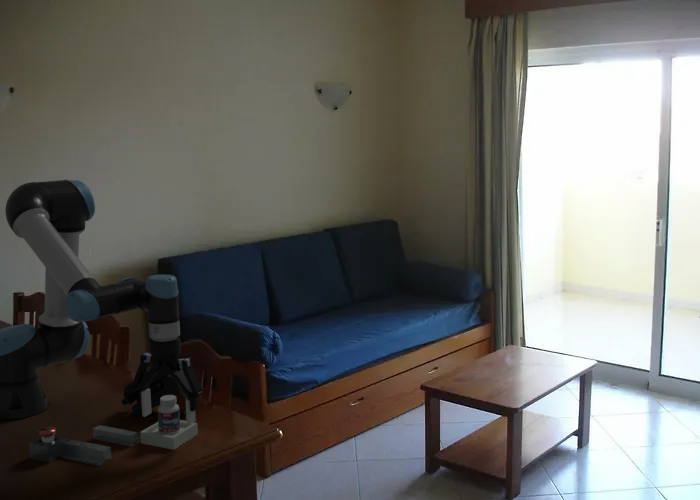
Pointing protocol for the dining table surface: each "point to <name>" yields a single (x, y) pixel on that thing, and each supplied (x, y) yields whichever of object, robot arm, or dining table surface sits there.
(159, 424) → the pill bottle
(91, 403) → the dining table surface
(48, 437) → the plunger
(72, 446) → the socket
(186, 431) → the tray
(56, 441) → the block
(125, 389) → the tool
